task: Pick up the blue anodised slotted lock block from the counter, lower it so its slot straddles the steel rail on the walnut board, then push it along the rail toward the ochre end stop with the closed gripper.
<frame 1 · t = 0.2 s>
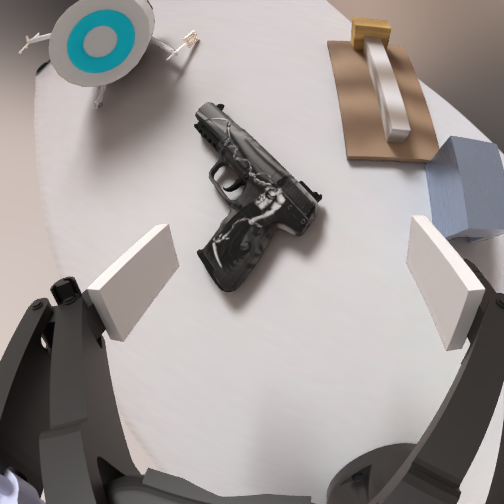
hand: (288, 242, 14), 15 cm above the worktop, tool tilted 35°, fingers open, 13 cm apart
satellite: (130, 65, 40), on the worktop
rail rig: (381, 94, 30), on the worktop
coupler lock: (452, 204, 27), on the worktop
handgun: (226, 189, 33), on the worktop
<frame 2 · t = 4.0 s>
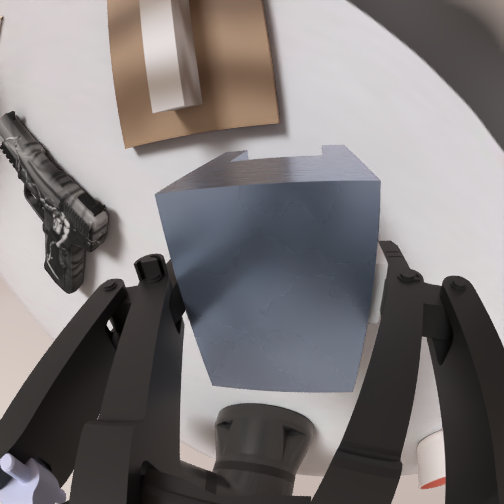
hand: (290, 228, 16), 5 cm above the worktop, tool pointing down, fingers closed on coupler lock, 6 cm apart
cup: (440, 435, 35), on the worktop
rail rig: (181, 13, 14), on the worktop
coupler lock: (290, 224, 16), point 5 cm above the worktop, touching gripper
handgun: (46, 195, 26), on the worktop
when the fingers open (1 cm above the worktop, at t = 8.4 s): coupler lock stays where it is, resting on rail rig.
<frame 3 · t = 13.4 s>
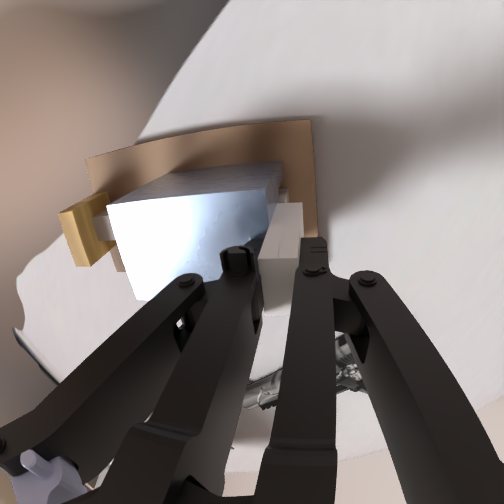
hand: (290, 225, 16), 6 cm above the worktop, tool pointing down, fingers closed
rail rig: (193, 205, 23), on the worktop
coupler lock: (227, 206, 22), point 1 cm above the worktop, touching gripper, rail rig
handgun: (328, 378, 31), on the worktop
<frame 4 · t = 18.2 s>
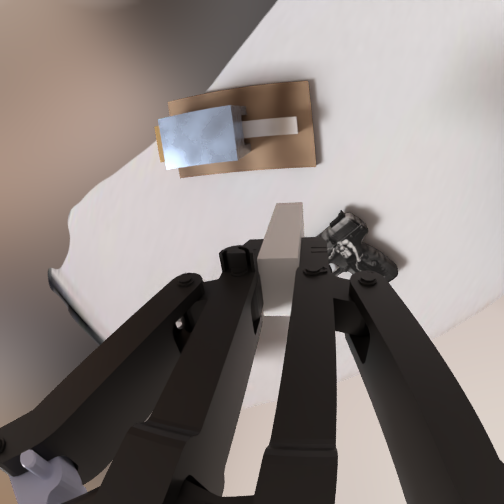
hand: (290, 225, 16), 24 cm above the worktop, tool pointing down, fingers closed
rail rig: (240, 129, 37), on the worktop
coupler lock: (217, 132, 37), point 1 cm above the worktop, touching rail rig
handgun: (325, 270, 46), on the worktop
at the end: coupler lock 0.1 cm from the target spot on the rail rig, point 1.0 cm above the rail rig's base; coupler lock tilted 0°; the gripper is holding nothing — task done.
